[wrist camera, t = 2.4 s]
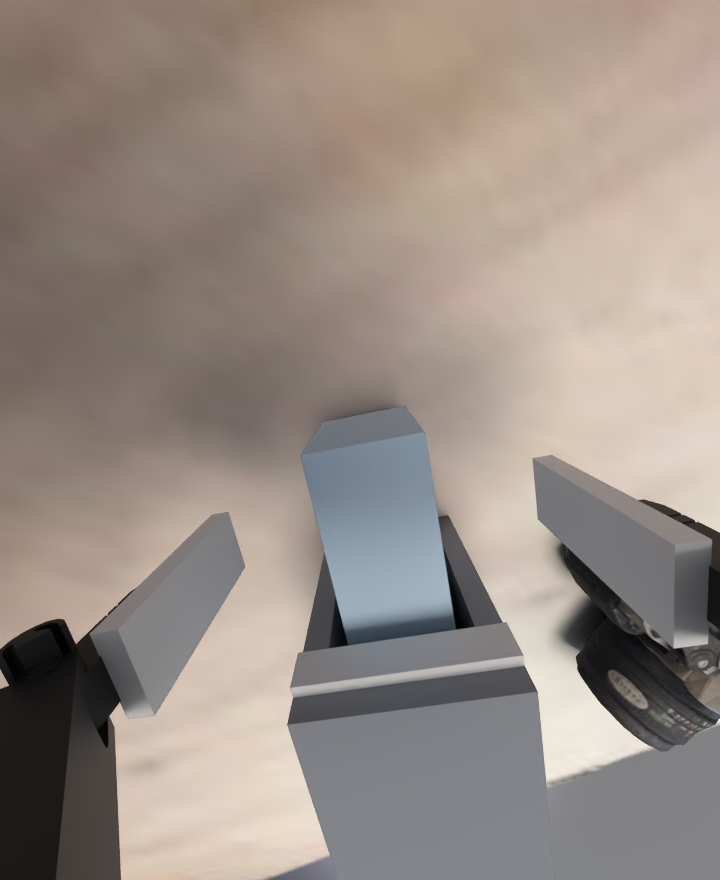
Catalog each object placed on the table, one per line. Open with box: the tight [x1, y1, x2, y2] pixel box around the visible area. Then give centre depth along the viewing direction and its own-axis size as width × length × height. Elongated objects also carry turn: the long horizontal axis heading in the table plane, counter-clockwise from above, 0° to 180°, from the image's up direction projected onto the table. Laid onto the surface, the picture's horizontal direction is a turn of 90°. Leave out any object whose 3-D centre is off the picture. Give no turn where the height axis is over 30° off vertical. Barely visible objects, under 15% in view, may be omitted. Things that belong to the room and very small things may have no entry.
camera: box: [565, 546, 720, 751], centre depth 21 cm, size 16×10×10 cm, turn 58°
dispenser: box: [287, 516, 555, 880], centre depth 20 cm, size 14×9×13 cm, turn 11°
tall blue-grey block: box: [300, 406, 456, 646], centre depth 19 cm, size 18×5×7 cm, turn 11°
